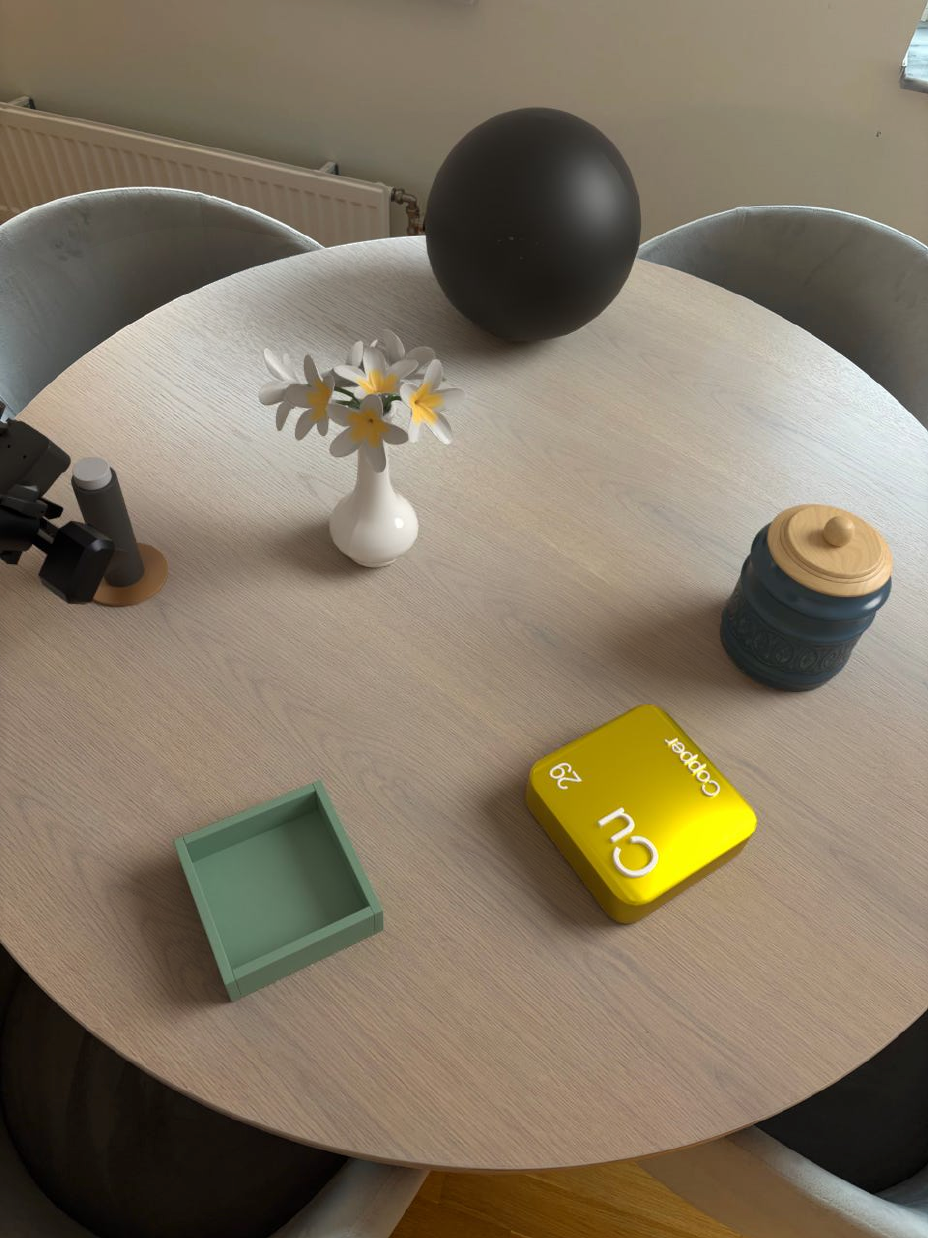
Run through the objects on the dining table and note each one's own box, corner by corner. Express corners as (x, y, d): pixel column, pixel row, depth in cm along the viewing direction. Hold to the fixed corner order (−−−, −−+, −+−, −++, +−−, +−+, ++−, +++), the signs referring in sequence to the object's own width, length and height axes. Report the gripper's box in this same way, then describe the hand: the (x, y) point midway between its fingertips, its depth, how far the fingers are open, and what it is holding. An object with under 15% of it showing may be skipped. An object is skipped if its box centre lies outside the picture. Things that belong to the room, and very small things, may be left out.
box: (231, 1002, 72) (224, 985, 68) (181, 861, 78) (172, 839, 75) (383, 930, 76) (383, 910, 73) (323, 802, 83) (320, 779, 79)
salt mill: (138, 589, 96) (105, 485, 85) (98, 585, 96) (60, 481, 85) (149, 559, 98) (119, 455, 87) (110, 556, 98) (75, 451, 87)
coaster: (93, 617, 94) (92, 615, 93) (72, 559, 98) (71, 556, 98) (178, 590, 96) (178, 587, 96) (154, 535, 101) (153, 532, 101)
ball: (414, 268, 136) (419, 65, 115) (597, 267, 139) (634, 70, 118) (430, 386, 120) (439, 174, 99) (637, 382, 123) (689, 177, 102)
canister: (836, 712, 92) (915, 595, 78) (705, 669, 94) (759, 548, 80) (849, 616, 100) (923, 494, 86) (728, 579, 102) (782, 454, 88)
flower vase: (289, 502, 105) (266, 303, 86) (455, 511, 106) (470, 315, 86) (273, 591, 97) (243, 394, 78) (452, 600, 98) (468, 407, 78)
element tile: (753, 846, 83) (770, 821, 79) (619, 935, 77) (631, 912, 73) (643, 720, 90) (655, 692, 86) (514, 793, 84) (520, 766, 81)
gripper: (66, 475, 71) (198, 503, 86) (-85, 374, 78) (61, 415, 92) (9, 604, 73) (147, 610, 88) (-134, 495, 79) (17, 517, 94)
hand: (93, 534), depth 90 cm, fingers open, 9 cm apart
